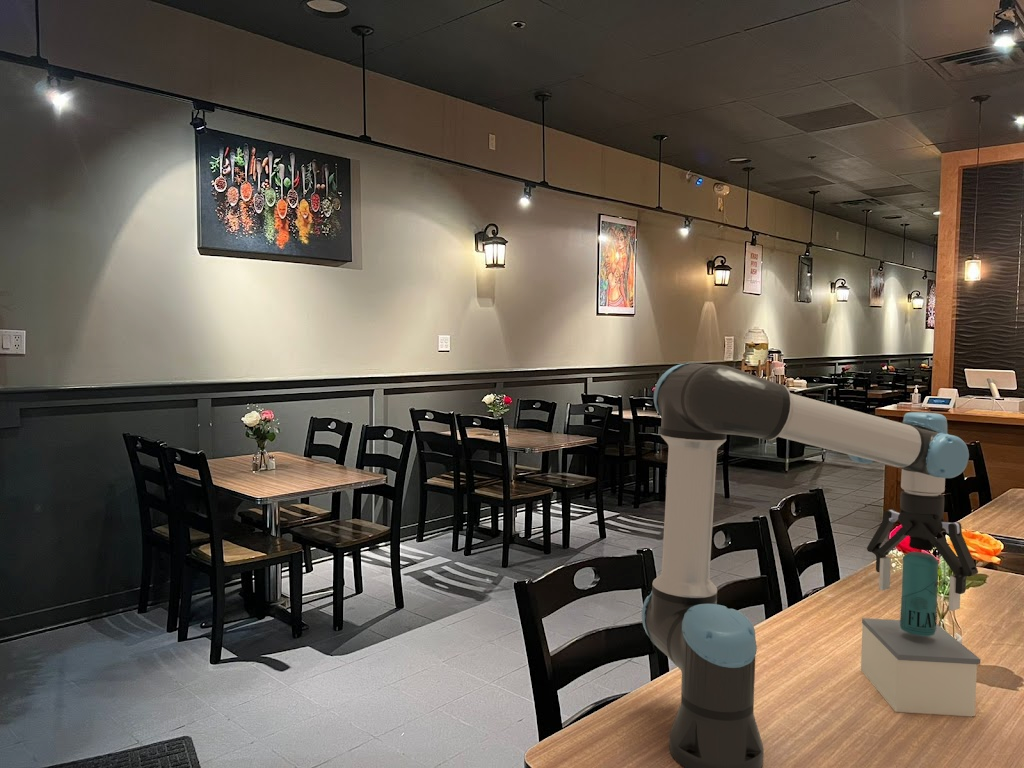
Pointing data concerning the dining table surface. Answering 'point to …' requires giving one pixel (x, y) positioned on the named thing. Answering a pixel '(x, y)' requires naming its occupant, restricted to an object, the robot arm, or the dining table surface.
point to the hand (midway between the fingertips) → (917, 599)
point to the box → (918, 681)
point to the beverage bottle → (919, 590)
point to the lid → (919, 643)
